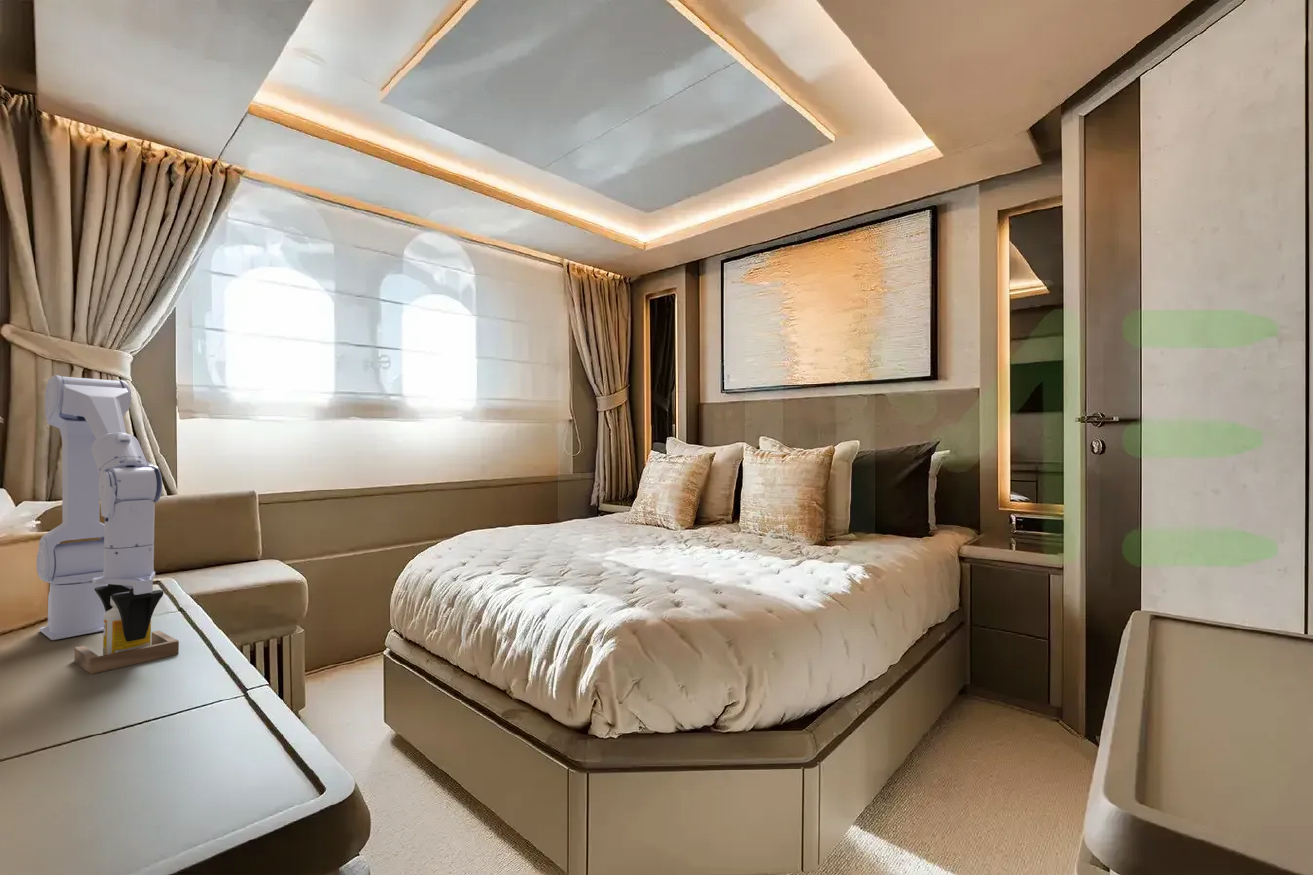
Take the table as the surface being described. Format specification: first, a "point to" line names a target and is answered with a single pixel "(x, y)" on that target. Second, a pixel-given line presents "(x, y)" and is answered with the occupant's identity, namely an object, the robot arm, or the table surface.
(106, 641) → the supplement bottle
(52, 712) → the table surface
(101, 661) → the bay
